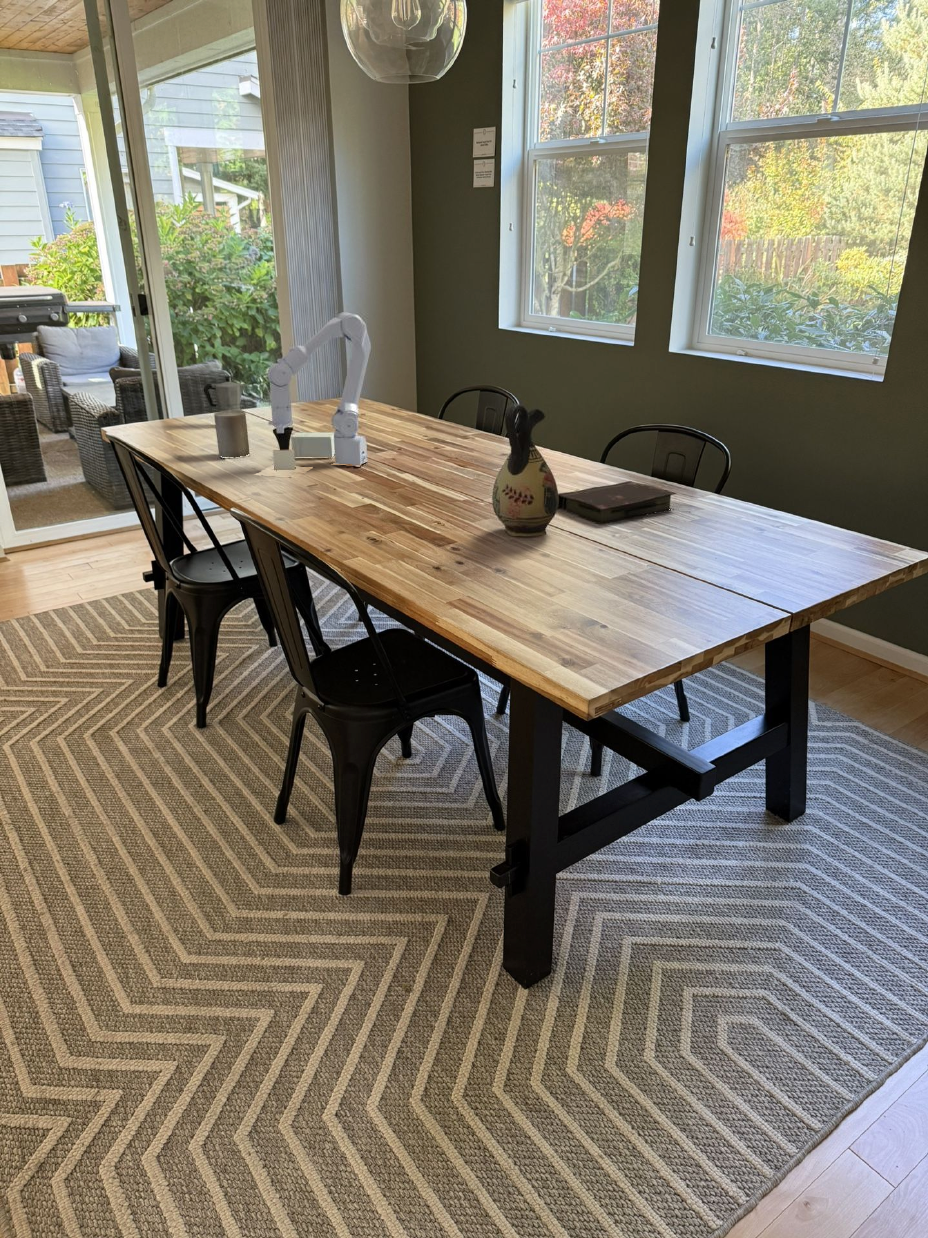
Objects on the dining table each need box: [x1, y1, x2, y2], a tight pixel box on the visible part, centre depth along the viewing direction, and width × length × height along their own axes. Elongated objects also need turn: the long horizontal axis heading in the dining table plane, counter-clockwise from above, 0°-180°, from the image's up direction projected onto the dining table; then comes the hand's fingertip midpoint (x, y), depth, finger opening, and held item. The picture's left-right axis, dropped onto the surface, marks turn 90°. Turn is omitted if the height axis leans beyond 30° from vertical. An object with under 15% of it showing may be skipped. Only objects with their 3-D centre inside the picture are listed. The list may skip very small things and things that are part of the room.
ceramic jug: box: [491, 403, 559, 537], centre depth 202 cm, size 17×15×30 cm
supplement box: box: [290, 432, 335, 458], centre depth 279 cm, size 7×7×13 cm
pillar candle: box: [213, 410, 251, 457], centre depth 279 cm, size 10×10×15 cm
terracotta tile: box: [272, 449, 296, 471], centre depth 261 cm, size 2×6×6 cm, turn 95°
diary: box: [557, 480, 677, 525], centre depth 226 cm, size 19×25×5 cm
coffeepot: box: [203, 376, 248, 412], centre depth 324 cm, size 15×9×18 cm, turn 103°
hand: (284, 452), depth 264 cm, fingers closed
